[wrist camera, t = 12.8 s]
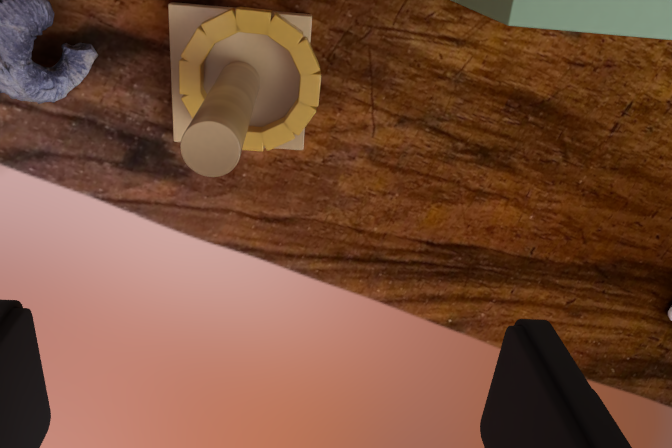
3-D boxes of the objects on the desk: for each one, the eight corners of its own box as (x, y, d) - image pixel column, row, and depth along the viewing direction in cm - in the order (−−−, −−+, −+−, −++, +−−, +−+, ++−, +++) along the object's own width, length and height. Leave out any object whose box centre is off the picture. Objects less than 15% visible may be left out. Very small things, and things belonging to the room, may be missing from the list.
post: (171, 2, 32) (98, 38, 21) (311, 14, 33) (316, 56, 22) (176, 136, 36) (116, 232, 24) (303, 145, 37) (303, 241, 25)
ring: (182, 0, 32) (177, 2, 30) (326, 15, 32) (326, 18, 31) (183, 138, 35) (179, 145, 34) (313, 149, 36) (313, 156, 35)
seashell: (98, 75, 35) (-30, -77, 32) (117, 55, 31) (-31, -125, 27) (26, 127, 33) (-121, -29, 29) (34, 114, 29) (-138, -72, 25)
